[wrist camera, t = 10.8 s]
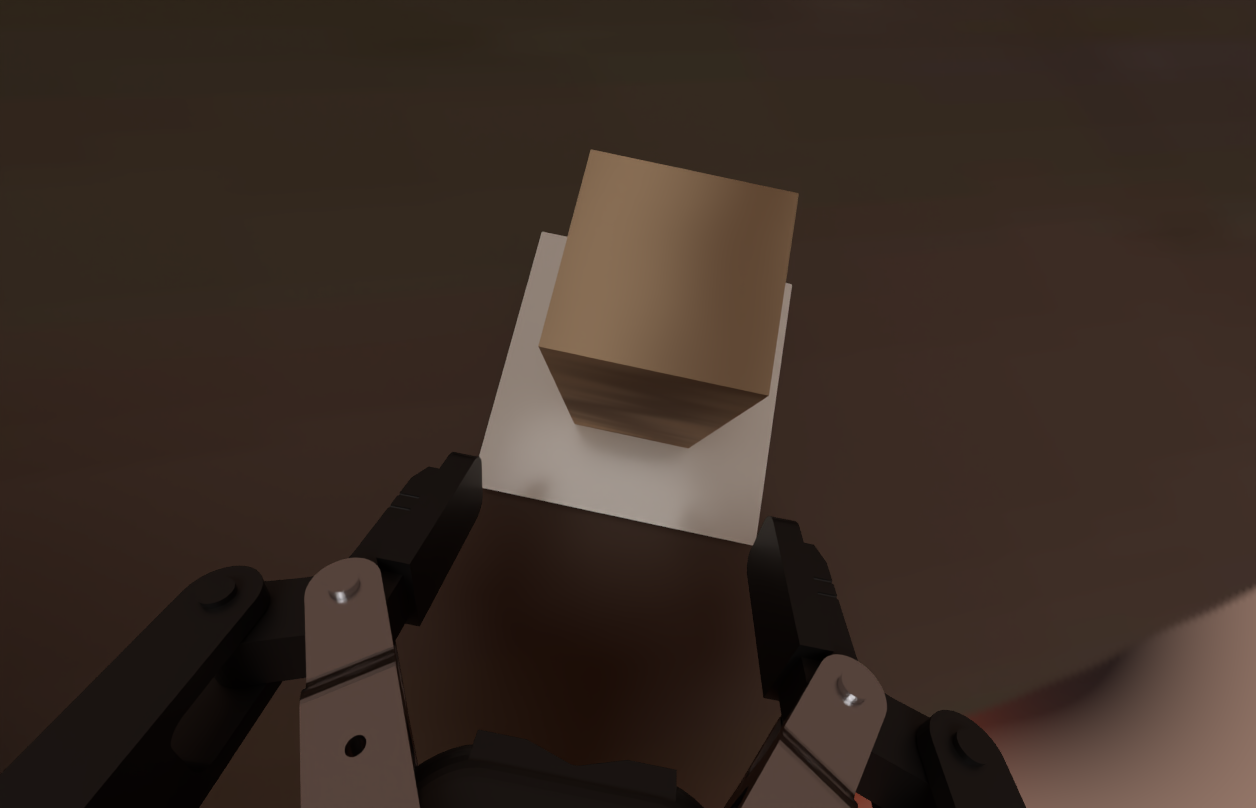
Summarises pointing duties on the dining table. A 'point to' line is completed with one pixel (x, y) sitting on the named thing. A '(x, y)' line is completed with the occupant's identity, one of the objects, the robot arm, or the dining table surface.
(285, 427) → the dining table surface
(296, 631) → the robot arm
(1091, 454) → the dining table surface
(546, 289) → the cream tile
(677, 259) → the oak block
